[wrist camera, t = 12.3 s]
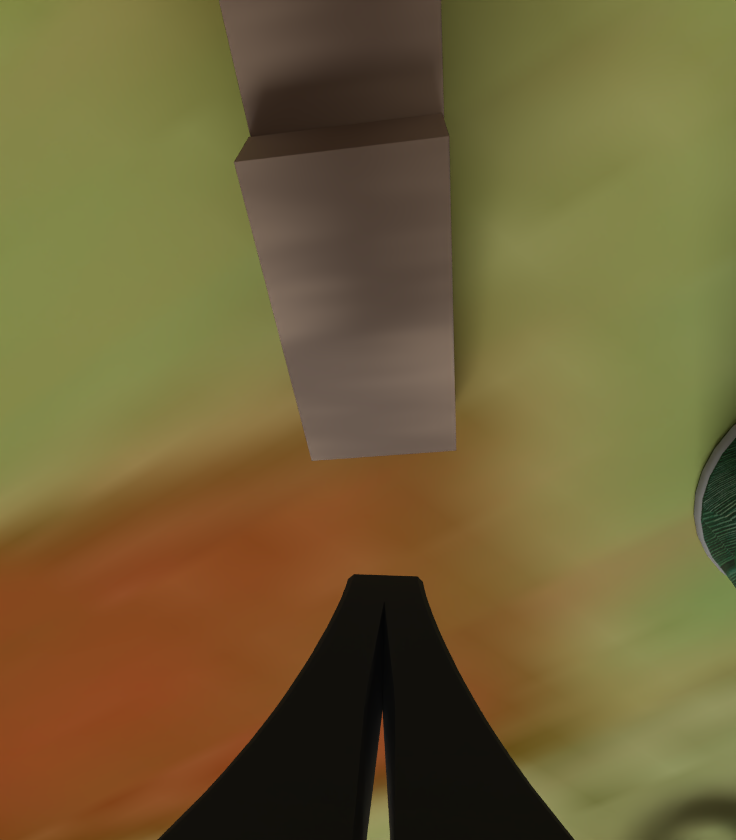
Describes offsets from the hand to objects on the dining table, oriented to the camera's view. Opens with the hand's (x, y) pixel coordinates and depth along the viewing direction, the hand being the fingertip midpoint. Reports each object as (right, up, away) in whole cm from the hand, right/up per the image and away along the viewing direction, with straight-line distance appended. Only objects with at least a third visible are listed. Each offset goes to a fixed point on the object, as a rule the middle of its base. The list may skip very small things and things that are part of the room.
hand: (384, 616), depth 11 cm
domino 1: (0, +3, +5) cm, 6 cm away
